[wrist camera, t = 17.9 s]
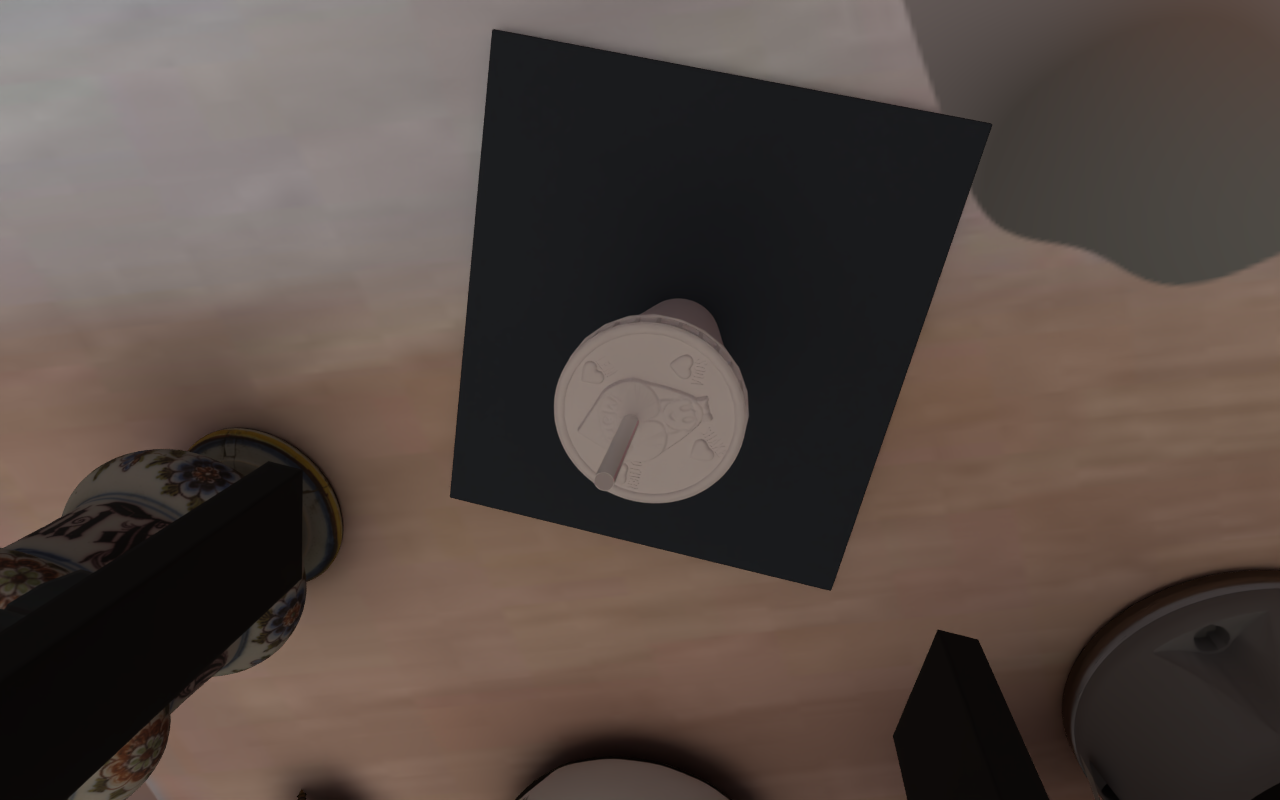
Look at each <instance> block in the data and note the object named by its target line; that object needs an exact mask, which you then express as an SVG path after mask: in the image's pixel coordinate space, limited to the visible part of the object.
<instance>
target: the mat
mask: <svg viewBox="0 0 1280 800" xmlns="http://www.w3.org/2000/svg"><path fill="white" fill-rule="evenodd" d="M991 127H992V124H991V123H986V122H980V121H975V120H970V119H965V118H960V117H955V116H949V115H944V114H939V113H933V112H928V111H923V110H918V109H912V108H907V107H902V106H896V105H891V104H886V103H881V102H875V101H870V100H865V99H859V98H854V97H849V96H844V95H838V94H833V93H828V92H822V91H817V90H812V89H807V88H801V87H796V86H791V85H785V84H780V83H775V82H769V81H764V80H759V79H754V78H748V77H743V76H738V75H732V74H727V73H722V72H717V71H711V70H706V69H701V68H695V67H690V66H685V65H680V64H674V63H669V62H664V61H658V60H653V59H648V58H643V57H637V56H632V55H627V54H621V53H616V52H611V51H606V50H600V49H595V48H590V47H584V46H579V45H574V44H569V43H563V42H558V41H553V40H547V39H542V38H537V37H532V36H526V35H521V34H516V33H510V32H505V31H500V30H495V29H494V30H492V39H491V50H490V61H489V72H488V83H487V94H486V105H485V116H484V127H483V138H482V149H481V160H480V171H479V183H478V194H477V205H476V216H475V227H474V238H473V249H472V260H471V271H470V282H469V293H468V304H467V315H466V326H465V337H464V348H463V359H462V370H461V381H460V392H459V403H458V414H457V425H456V436H455V447H454V459H453V470H452V481H451V492H450V497H451V498H455V499H459V500H463V501H467V502H471V503H475V504H479V505H483V506H487V507H491V508H496V509H500V510H504V511H508V512H512V513H516V514H520V515H524V516H528V517H532V518H536V519H540V520H544V521H549V522H553V523H557V524H561V525H565V526H569V527H573V528H577V529H581V530H585V531H589V532H593V533H597V534H601V535H606V536H610V537H614V538H618V539H622V540H626V541H630V542H634V543H638V544H642V545H646V546H650V547H654V548H658V549H663V550H667V551H671V552H675V553H679V554H683V555H687V556H691V557H695V558H699V559H703V560H707V561H711V562H716V563H720V564H724V565H728V566H732V567H736V568H740V569H744V570H748V571H752V572H756V573H760V574H764V575H768V576H773V577H777V578H781V579H785V580H789V581H793V582H797V583H801V584H805V585H809V586H813V587H817V588H821V589H826V590H830V591H831V589H832V587H833V584H834V581H835V578H836V575H837V572H838V569H839V566H840V563H841V561H842V558H843V555H844V552H845V549H846V546H847V543H848V540H849V537H850V535H851V532H852V529H853V526H854V523H855V520H856V517H857V514H858V511H859V509H860V506H861V503H862V500H863V497H864V494H865V491H866V488H867V485H868V483H869V480H870V477H871V474H872V471H873V468H874V465H875V462H876V459H877V457H878V454H879V451H880V448H881V445H882V442H883V439H884V436H885V433H886V431H887V428H888V425H889V422H890V419H891V416H892V413H893V410H894V407H895V405H896V402H897V399H898V396H899V393H900V390H901V387H902V384H903V381H904V379H905V376H906V373H907V370H908V367H909V364H910V361H911V358H912V355H913V353H914V350H915V347H916V344H917V341H918V338H919V335H920V332H921V329H922V327H923V324H924V321H925V318H926V315H927V312H928V309H929V306H930V303H931V301H932V298H933V295H934V292H935V289H936V286H937V283H938V280H939V277H940V275H941V272H942V269H943V266H944V263H945V260H946V257H947V254H948V251H949V249H950V246H951V243H952V240H953V237H954V234H955V231H956V228H957V225H958V223H959V220H960V217H961V214H962V211H963V208H964V205H965V202H966V199H967V197H968V194H969V191H970V188H971V185H972V182H973V179H974V176H975V173H976V170H977V168H978V165H979V162H980V159H981V156H982V153H983V150H984V147H985V144H986V141H987V139H988V136H989V133H990V130H991ZM676 298H680V299H687V300H691V301H694V302H696V303H698V304H700V305H702V306H703V307H704V308H706V309H707V310H708V311H709V312H710V313H711V315H712V316H713V318H714V319H715V321H716V323H717V326H718V329H719V332H720V335H721V339H722V342H723V345H724V347H725V348H726V350H727V351H728V353H729V354H730V355H731V357H732V358H733V360H734V361H735V363H736V364H737V366H738V367H739V369H740V372H741V374H742V377H743V380H744V383H745V386H746V389H747V392H748V409H749V418H748V422H747V426H746V430H745V435H744V439H743V442H742V446H741V448H740V451H739V453H738V455H737V457H736V459H735V461H734V462H733V464H732V465H731V467H730V468H729V469H728V470H727V472H726V473H725V474H724V475H723V476H722V477H721V478H720V479H719V480H718V481H717V482H715V483H714V484H713V485H712V486H710V487H709V488H707V489H706V490H704V491H702V492H700V493H698V494H696V495H694V496H691V497H689V498H686V499H683V500H679V501H674V502H668V503H643V502H637V501H632V500H628V499H624V498H622V497H619V496H616V495H614V494H612V493H610V492H607V491H602V490H600V489H598V488H597V487H596V486H595V484H594V483H593V482H592V481H591V480H589V479H588V478H587V477H586V476H585V475H584V474H583V473H582V472H581V471H580V470H579V469H578V468H577V467H576V466H575V465H574V463H573V462H572V461H571V459H570V458H569V456H568V455H567V453H566V451H565V449H564V447H563V445H562V443H561V441H560V438H559V435H558V432H557V428H556V424H555V417H554V398H555V392H556V387H557V384H558V380H559V378H560V375H561V373H562V371H563V369H564V367H565V365H566V364H567V362H568V361H569V358H570V356H571V355H572V354H573V352H574V351H575V350H576V349H577V347H578V346H579V345H580V344H581V343H582V341H583V340H584V339H585V338H586V337H587V336H589V335H590V334H592V333H593V332H595V331H596V330H597V329H599V328H600V327H602V326H603V325H605V324H607V323H610V322H612V321H615V320H618V319H621V318H624V317H627V316H632V315H640V314H641V313H643V312H645V311H647V310H648V309H650V308H652V307H653V306H655V305H657V304H658V303H660V302H663V301H665V300H669V299H676Z"/></svg>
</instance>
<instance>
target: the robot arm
mask: <svg viewBox="0 0 1280 800" xmlns="http://www.w3.org/2000/svg"><path fill="white" fill-rule="evenodd" d="M302 506H303V470H302V469H298V468H294V467H290V466H286V465H282V464H278V463H274V462H270V461H268V462H266V463H265V464H263V465H262V466H260V467H259V468H257V469H255V470H254V471H252V472H251V473H249V474H248V475H246V476H244V477H243V478H241V479H240V480H238V481H237V482H235V483H233V484H232V485H230V486H229V487H227V488H226V489H224V490H222V491H221V492H219V493H218V494H216V495H215V496H213V497H211V498H210V499H208V500H207V501H205V502H204V503H202V504H200V505H199V506H197V507H196V508H194V509H193V510H191V511H189V512H188V513H186V514H185V515H183V516H182V517H180V518H179V519H177V520H175V521H174V522H172V523H171V524H169V525H168V526H166V527H164V528H163V529H161V530H160V531H158V532H157V533H155V534H153V535H152V536H150V537H149V538H147V539H146V540H144V541H142V542H141V543H139V544H138V545H136V546H135V547H133V548H131V549H130V550H128V551H127V552H125V553H124V554H122V555H120V556H119V557H117V558H116V559H114V560H113V561H111V562H109V563H108V564H106V565H105V566H103V567H102V568H100V569H98V570H97V571H95V572H94V573H93V572H89V571H85V570H82V569H80V570H77V571H75V572H72V573H69V574H66V575H64V576H61V577H58V578H55V579H53V580H50V581H47V582H44V583H42V584H40V585H38V586H36V587H35V588H33V589H31V590H30V591H28V592H26V593H25V594H23V595H21V596H20V597H18V598H17V599H15V600H13V601H12V602H10V603H8V604H7V606H6V608H5V609H0V800H67V799H68V798H69V797H70V796H71V795H72V794H73V793H75V792H76V791H77V790H78V789H79V788H80V787H81V786H82V785H83V784H84V783H85V782H86V781H87V780H88V779H89V778H90V777H92V776H93V775H94V774H95V773H96V772H97V771H98V770H99V769H100V768H101V767H102V766H103V765H104V764H105V763H106V762H107V761H109V760H110V759H111V758H112V757H113V756H114V755H115V754H116V753H117V752H118V751H119V750H120V749H121V748H122V747H123V746H124V745H126V744H127V743H128V742H129V741H130V740H131V739H132V738H133V737H134V736H135V735H136V734H137V733H138V732H139V731H140V730H141V729H143V728H144V727H145V726H146V725H147V724H148V723H149V722H150V721H151V720H152V719H153V718H154V717H155V716H156V715H157V714H159V713H160V712H161V711H162V710H163V709H164V708H165V707H166V706H167V705H168V704H169V703H170V702H171V701H172V700H173V699H174V698H176V697H177V696H178V695H179V694H180V693H181V692H182V691H183V690H184V689H185V688H186V687H187V686H188V685H189V684H190V683H191V682H193V681H194V680H195V679H196V678H197V677H198V676H199V675H200V674H201V673H202V672H203V671H204V670H205V669H206V668H207V667H208V666H210V665H211V664H212V663H213V662H214V661H215V660H216V659H217V658H218V657H219V656H220V655H221V654H222V653H223V652H224V651H225V650H227V649H228V648H229V647H230V646H231V645H232V644H233V643H234V642H235V641H236V640H237V639H238V638H239V637H240V636H241V635H243V634H244V633H245V632H246V631H247V630H248V629H249V628H250V627H251V626H252V625H253V624H254V623H255V622H256V621H257V620H258V619H260V618H261V617H262V616H263V615H264V614H265V613H266V612H267V611H268V610H269V609H270V608H271V607H272V606H273V605H274V604H275V603H277V602H278V601H279V600H280V599H281V598H282V597H283V596H284V595H285V594H286V593H287V592H288V591H289V590H290V589H291V588H292V587H294V586H295V585H296V584H297V583H298V582H299V581H300V580H301V579H302ZM1062 718H1063V726H1064V730H1065V734H1066V737H1067V740H1068V742H1069V745H1070V747H1071V749H1072V751H1073V753H1074V755H1075V756H1076V758H1077V760H1078V762H1079V764H1080V766H1081V768H1082V770H1083V772H1084V774H1085V775H1086V777H1087V778H1088V780H1089V783H1090V786H1091V789H1092V792H1093V795H1094V798H1095V800H1100V798H1099V795H1100V796H1101V797H1102V799H1103V800H1280V570H1251V571H1238V572H1229V573H1222V574H1217V575H1212V576H1206V577H1202V578H1199V579H1195V580H1191V581H1187V582H1184V583H1182V584H1179V585H1176V586H1173V587H1170V588H1168V589H1165V590H1163V591H1161V592H1158V593H1156V594H1154V595H1152V596H1150V597H1148V598H1146V599H1144V600H1142V601H1140V602H1138V603H1137V604H1135V605H1133V606H1132V607H1130V608H1128V609H1127V610H1125V611H1124V612H1122V613H1121V614H1120V615H1118V616H1117V617H1116V618H1114V619H1113V620H1112V621H1110V622H1109V623H1108V624H1107V625H1106V626H1105V627H1104V628H1103V629H1101V630H1100V631H1099V632H1098V633H1097V634H1096V635H1095V637H1094V638H1093V639H1092V640H1091V641H1090V642H1089V643H1088V644H1087V646H1086V647H1085V648H1084V650H1083V651H1082V652H1081V654H1080V655H1079V657H1078V659H1077V660H1076V662H1075V664H1074V665H1073V668H1072V670H1071V672H1070V674H1069V676H1068V679H1067V683H1066V686H1065V689H1064V695H1063V700H1062ZM893 738H894V743H895V747H896V751H897V756H898V760H899V765H900V769H901V773H902V778H903V782H904V787H905V791H906V795H907V800H1049V798H1048V795H1047V793H1046V791H1045V789H1044V786H1043V784H1042V782H1041V780H1040V778H1039V775H1038V773H1037V771H1036V769H1035V766H1034V764H1033V762H1032V760H1031V757H1030V755H1029V753H1028V751H1027V748H1026V746H1025V744H1024V742H1023V739H1022V737H1021V735H1020V733H1019V730H1018V728H1017V726H1016V724H1015V721H1014V719H1013V717H1012V715H1011V712H1010V710H1009V708H1008V706H1007V703H1006V701H1005V699H1004V697H1003V694H1002V692H1001V690H1000V688H999V685H998V683H997V681H996V679H995V676H994V674H993V672H992V670H991V667H990V665H989V663H988V661H987V658H986V656H985V654H984V652H983V649H982V647H981V645H980V643H979V640H977V639H973V638H969V637H965V636H961V635H957V634H953V633H949V632H945V631H941V630H937V633H936V635H935V637H934V640H933V642H932V645H931V647H930V649H929V652H928V654H927V656H926V659H925V661H924V664H923V666H922V668H921V671H920V673H919V675H918V678H917V680H916V682H915V685H914V687H913V690H912V692H911V694H910V697H909V699H908V701H907V704H906V706H905V708H904V711H903V713H902V716H901V718H900V720H899V723H898V725H897V727H896V730H895V732H894V735H893ZM1098 793H1099V795H1098Z"/></svg>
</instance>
